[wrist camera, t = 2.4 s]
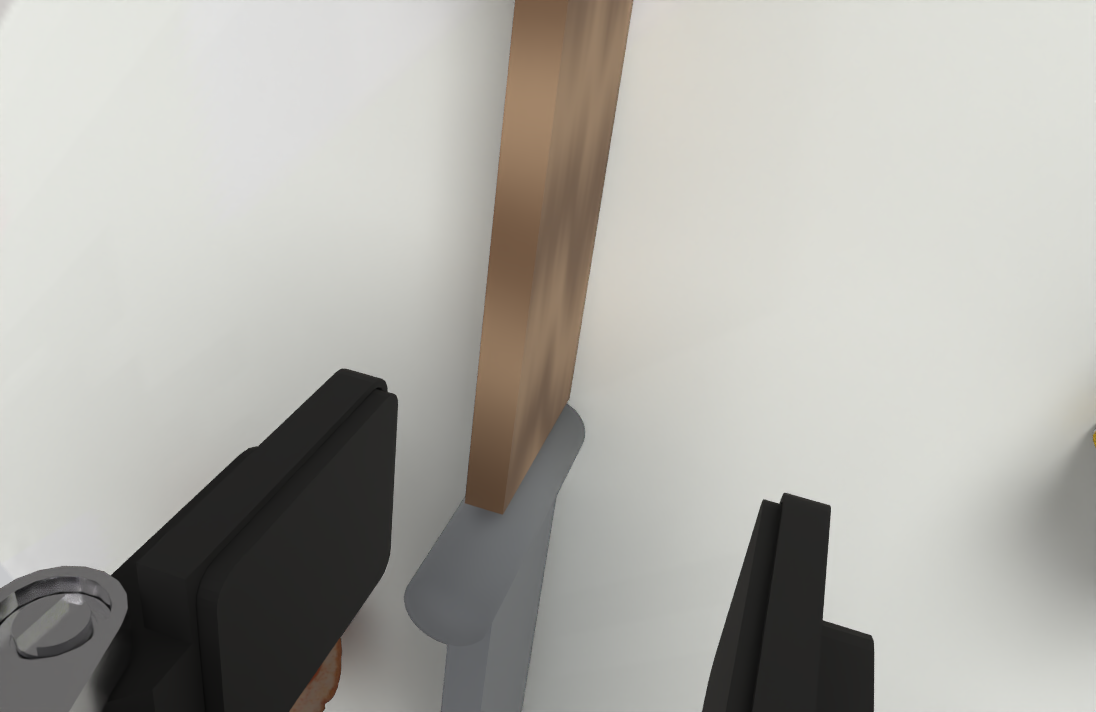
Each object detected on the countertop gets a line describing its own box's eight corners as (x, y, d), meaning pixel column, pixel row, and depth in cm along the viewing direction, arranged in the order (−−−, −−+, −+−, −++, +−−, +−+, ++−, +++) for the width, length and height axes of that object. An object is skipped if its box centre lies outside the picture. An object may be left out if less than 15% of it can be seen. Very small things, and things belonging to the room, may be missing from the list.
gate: (577, 400, 33) (500, 538, 27) (529, 387, 34) (442, 520, 27) (675, -196, 24) (597, -214, 17) (608, -205, 25) (506, -227, 18)
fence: (522, 791, 45) (440, 1006, 37) (472, 773, 46) (380, 981, 37) (717, -324, 23) (624, -426, 15) (616, -335, 24) (469, -439, 15)
